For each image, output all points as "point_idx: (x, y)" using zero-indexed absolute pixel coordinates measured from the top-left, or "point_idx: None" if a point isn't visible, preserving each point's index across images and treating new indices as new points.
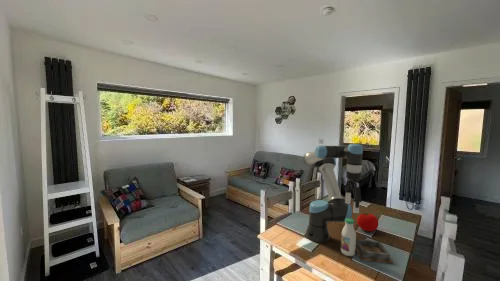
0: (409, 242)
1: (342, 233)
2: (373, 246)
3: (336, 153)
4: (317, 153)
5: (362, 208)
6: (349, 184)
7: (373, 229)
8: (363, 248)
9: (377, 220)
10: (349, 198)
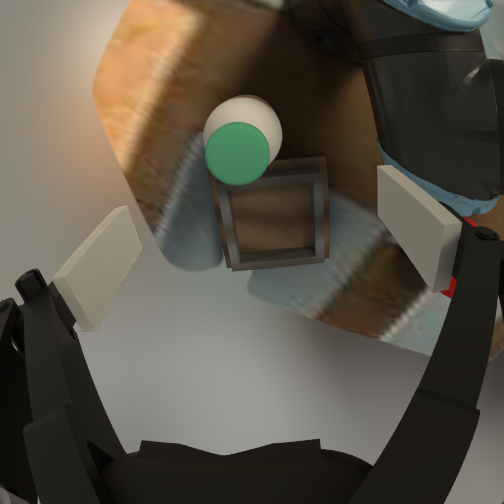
0: (365, 335)
1: (229, 101)
2: (312, 231)
3: None
4: None
5: None
6: (357, 491)
7: None
8: (286, 190)
9: (445, 295)
10: (400, 230)
